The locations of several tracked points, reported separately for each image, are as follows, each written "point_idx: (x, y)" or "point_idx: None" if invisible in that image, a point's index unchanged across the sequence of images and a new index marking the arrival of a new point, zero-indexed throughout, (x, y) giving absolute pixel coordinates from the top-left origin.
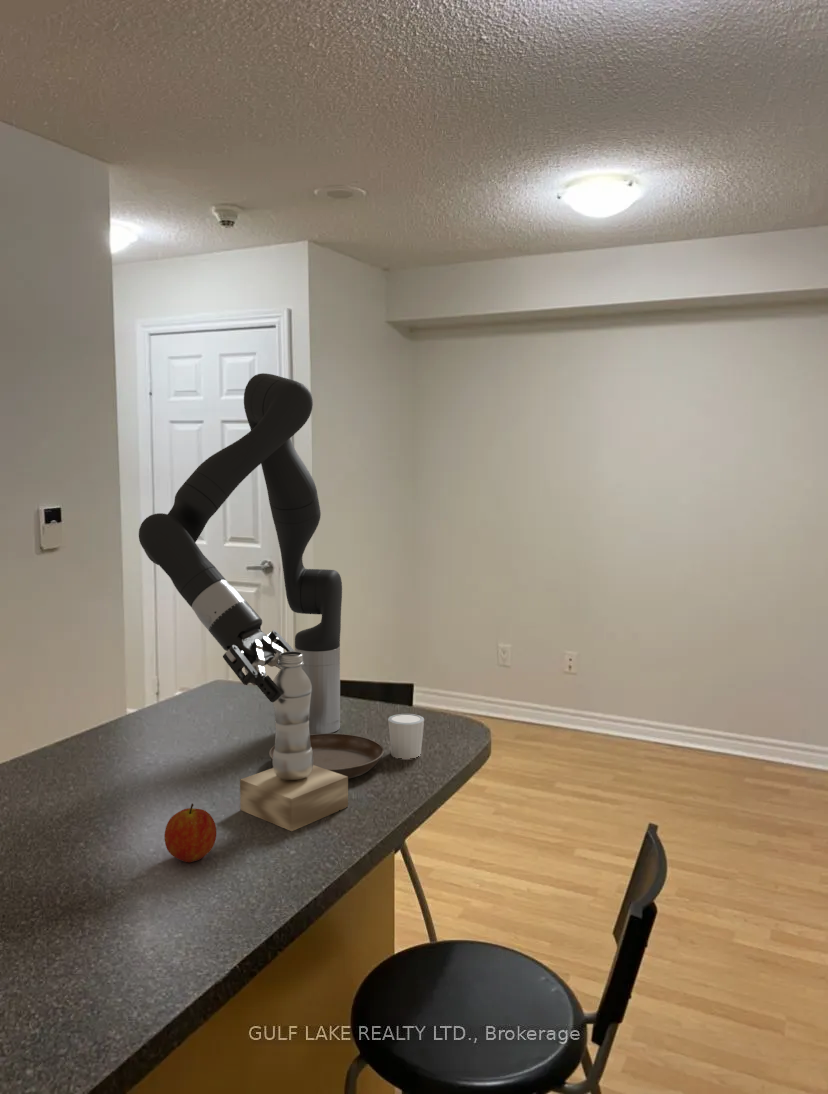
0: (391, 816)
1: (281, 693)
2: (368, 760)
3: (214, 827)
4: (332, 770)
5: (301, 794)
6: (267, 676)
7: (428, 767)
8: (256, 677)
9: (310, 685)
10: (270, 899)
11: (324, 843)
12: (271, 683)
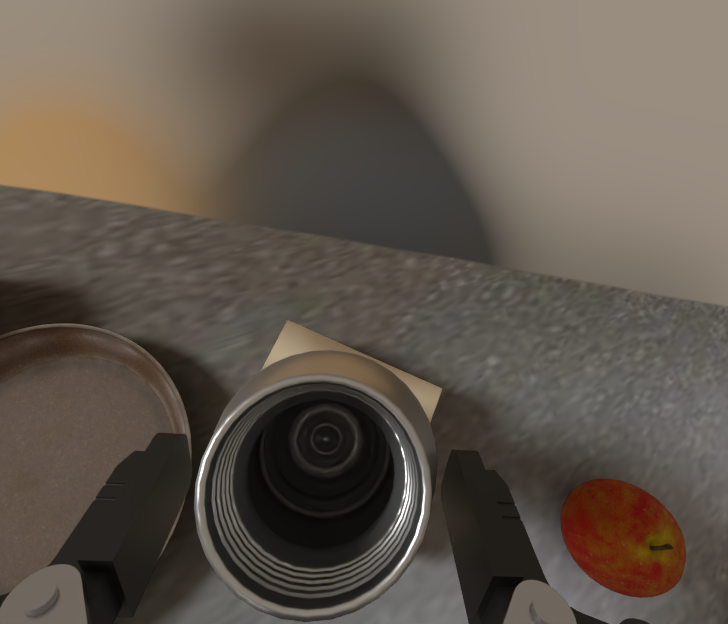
0: (314, 253)
1: (461, 450)
2: (22, 377)
3: (608, 485)
4: (181, 401)
5: (413, 378)
6: (506, 569)
7: (51, 245)
8: (600, 621)
9: (311, 351)
10: (626, 332)
11: (446, 323)
12: (500, 516)
